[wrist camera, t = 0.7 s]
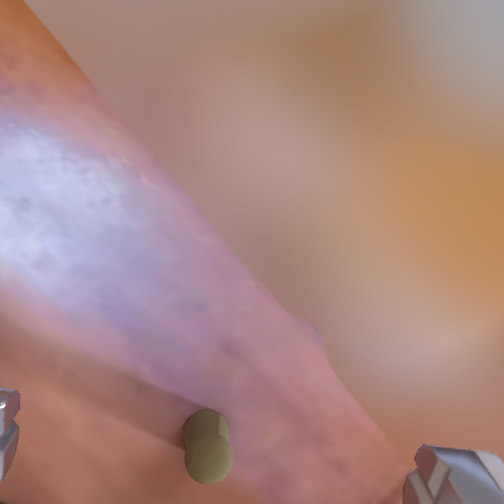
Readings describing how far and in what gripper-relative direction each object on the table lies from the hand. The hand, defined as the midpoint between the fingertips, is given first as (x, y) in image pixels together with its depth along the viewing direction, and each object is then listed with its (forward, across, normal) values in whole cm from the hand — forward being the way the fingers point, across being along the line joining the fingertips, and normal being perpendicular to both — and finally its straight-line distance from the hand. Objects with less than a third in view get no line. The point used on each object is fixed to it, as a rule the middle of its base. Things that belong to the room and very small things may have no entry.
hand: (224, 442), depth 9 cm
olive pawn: (+41, +4, -35) cm, 54 cm away
